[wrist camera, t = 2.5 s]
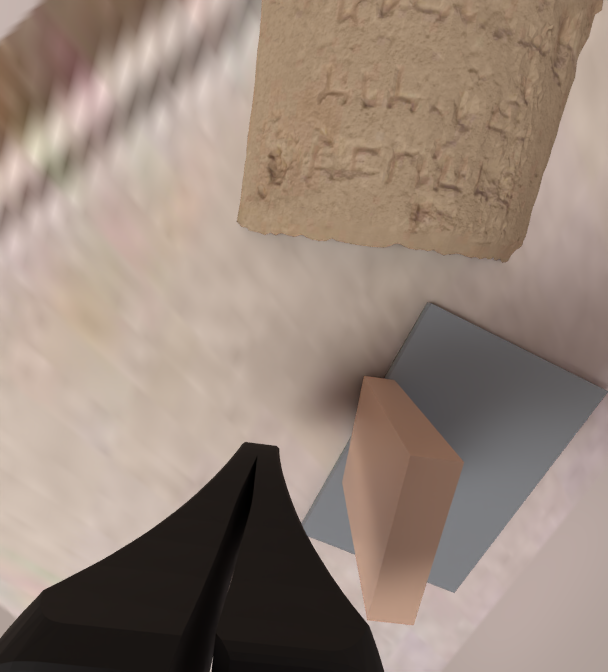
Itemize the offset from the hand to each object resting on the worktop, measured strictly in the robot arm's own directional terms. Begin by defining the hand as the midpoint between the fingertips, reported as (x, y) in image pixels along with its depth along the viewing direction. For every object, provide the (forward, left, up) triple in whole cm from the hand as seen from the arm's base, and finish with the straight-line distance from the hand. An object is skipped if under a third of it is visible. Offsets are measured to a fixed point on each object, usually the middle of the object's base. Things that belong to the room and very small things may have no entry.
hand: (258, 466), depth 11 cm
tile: (-2, -4, -3) cm, 6 cm away
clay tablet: (+10, -10, -5) cm, 15 cm away
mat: (-6, -7, -4) cm, 10 cm away
